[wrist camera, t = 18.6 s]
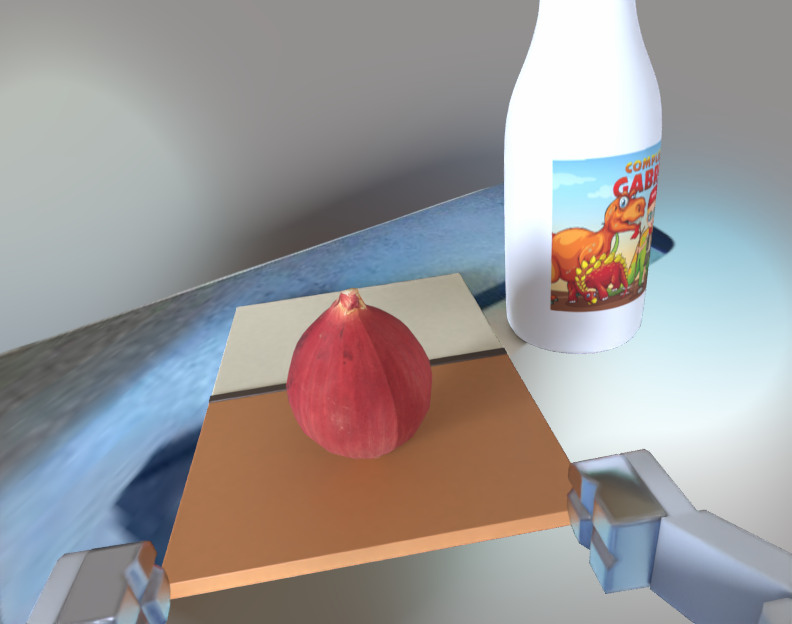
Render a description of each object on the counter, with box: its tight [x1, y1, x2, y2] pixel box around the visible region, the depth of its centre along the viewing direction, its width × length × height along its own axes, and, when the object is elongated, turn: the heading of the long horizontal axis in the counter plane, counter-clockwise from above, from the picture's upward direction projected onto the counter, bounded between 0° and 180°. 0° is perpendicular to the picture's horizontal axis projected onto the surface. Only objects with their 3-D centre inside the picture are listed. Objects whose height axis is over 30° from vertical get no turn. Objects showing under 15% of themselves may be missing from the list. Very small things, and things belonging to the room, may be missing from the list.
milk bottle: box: [504, 0, 662, 354], centre depth 29 cm, size 8×8×20 cm
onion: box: [286, 288, 432, 459], centre depth 22 cm, size 6×6×8 cm
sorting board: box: [162, 273, 573, 599], centre depth 30 cm, size 16×22×1 cm
